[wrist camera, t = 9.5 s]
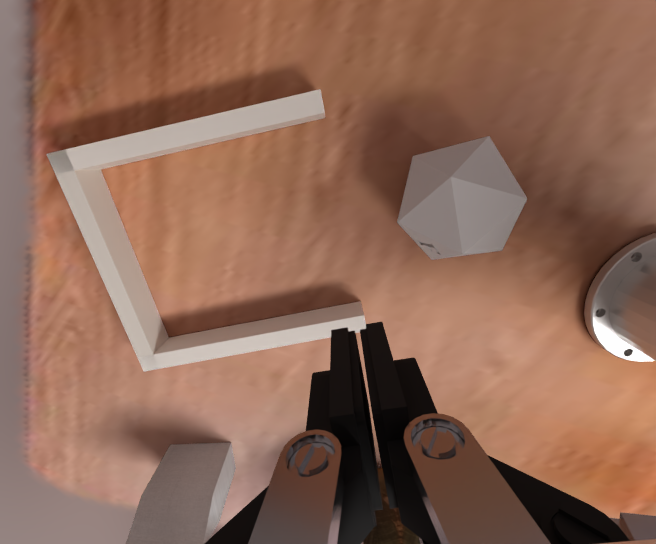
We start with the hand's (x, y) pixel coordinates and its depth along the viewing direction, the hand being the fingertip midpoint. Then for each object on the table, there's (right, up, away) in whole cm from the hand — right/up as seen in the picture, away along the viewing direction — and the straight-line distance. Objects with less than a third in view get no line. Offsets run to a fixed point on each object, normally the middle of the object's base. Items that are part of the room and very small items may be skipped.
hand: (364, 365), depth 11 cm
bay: (-10, +6, +18) cm, 22 cm away
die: (+8, +9, +17) cm, 22 cm away
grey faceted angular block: (-15, -18, +27) cm, 35 cm away
